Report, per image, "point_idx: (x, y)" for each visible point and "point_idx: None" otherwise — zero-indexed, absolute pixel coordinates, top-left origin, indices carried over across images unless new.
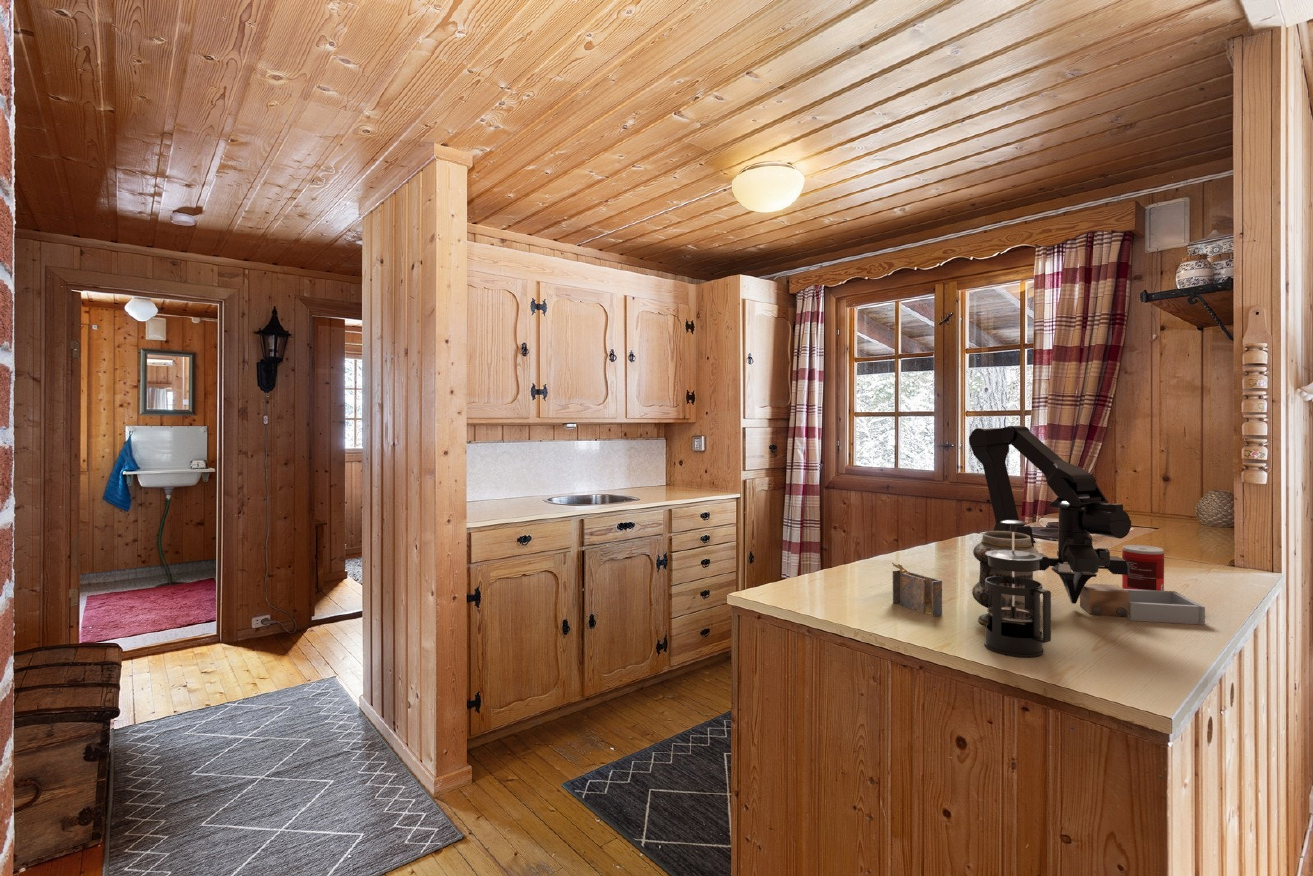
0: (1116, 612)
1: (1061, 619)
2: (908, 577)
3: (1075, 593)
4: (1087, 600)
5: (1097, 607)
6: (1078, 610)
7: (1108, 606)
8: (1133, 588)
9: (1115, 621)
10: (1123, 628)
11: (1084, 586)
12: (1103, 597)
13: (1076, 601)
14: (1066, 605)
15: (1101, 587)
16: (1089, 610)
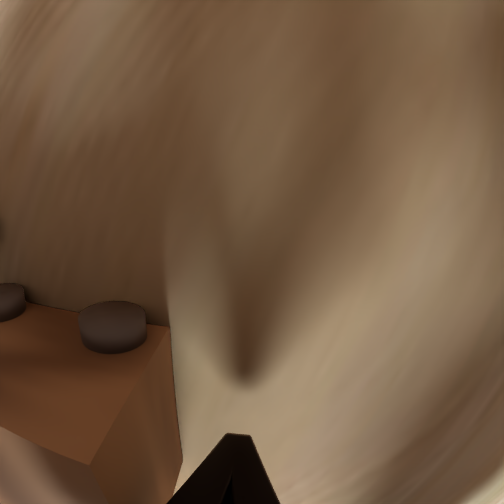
0: (24, 312)
1: (433, 151)
2: None
3: (224, 490)
4: (145, 420)
5: (100, 327)
6: (216, 398)
7: (35, 338)
8: None
9: (62, 171)
10: (84, 21)
11: None
12: (20, 383)
13: (222, 441)
14: None
15: (20, 490)
16: (162, 340)
